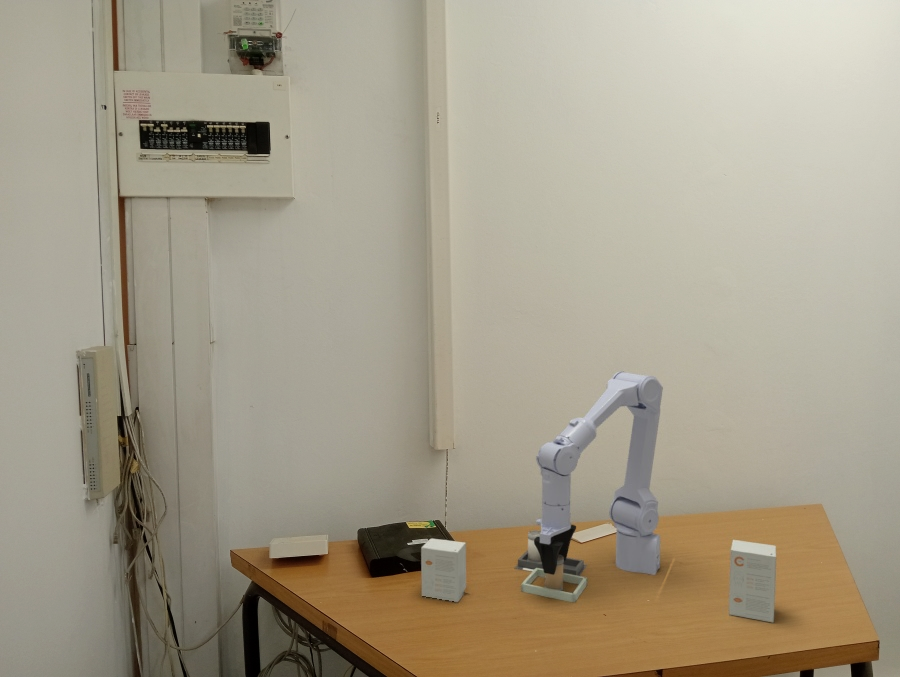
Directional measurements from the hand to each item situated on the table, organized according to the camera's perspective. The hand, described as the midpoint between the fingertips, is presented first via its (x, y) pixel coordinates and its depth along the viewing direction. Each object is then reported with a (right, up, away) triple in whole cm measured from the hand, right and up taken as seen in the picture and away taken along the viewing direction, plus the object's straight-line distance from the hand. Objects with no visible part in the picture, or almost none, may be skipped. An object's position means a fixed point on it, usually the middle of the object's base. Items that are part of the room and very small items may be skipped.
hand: (555, 566), depth 145 cm
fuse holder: (+1, -5, +11) cm, 12 cm away
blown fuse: (0, -5, 0) cm, 5 cm away
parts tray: (0, -6, 0) cm, 6 cm away
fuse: (-2, -4, +13) cm, 13 cm away
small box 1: (-23, -6, -1) cm, 24 cm away
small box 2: (+37, -7, -8) cm, 38 cm away
